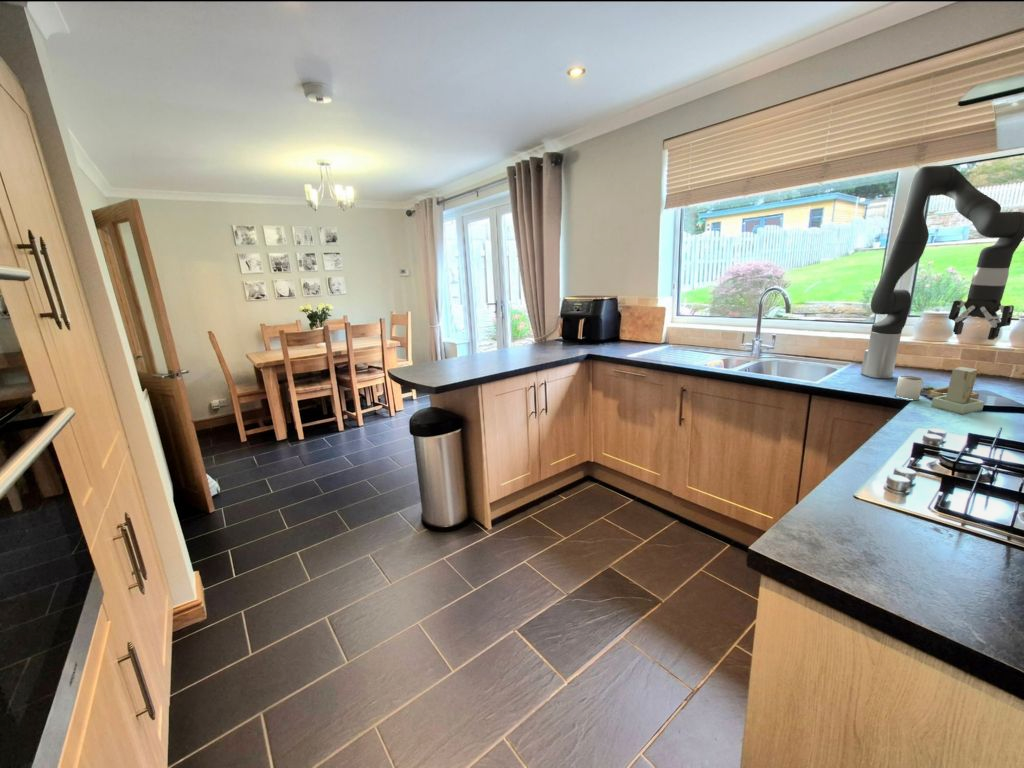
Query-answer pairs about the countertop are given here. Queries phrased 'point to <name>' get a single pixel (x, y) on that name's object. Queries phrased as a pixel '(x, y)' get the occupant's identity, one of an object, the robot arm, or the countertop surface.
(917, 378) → the cup
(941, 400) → the trough
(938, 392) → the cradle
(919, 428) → the countertop surface
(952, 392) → the skincare box
